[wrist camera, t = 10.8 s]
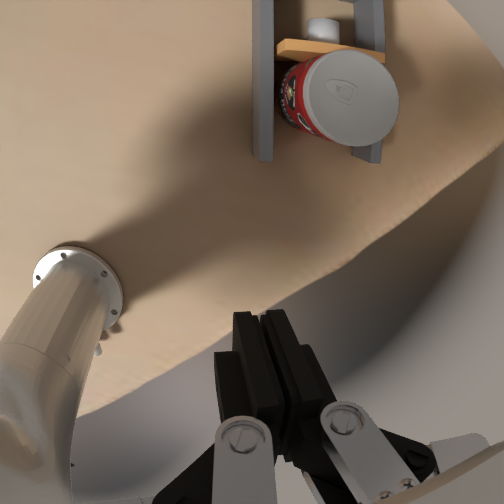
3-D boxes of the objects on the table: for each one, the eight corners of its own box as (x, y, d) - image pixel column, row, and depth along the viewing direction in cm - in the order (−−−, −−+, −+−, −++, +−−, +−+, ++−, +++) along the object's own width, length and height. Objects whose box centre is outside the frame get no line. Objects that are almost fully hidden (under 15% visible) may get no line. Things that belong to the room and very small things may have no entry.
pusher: (351, 68, 29) (385, 63, 23) (268, 60, 28) (285, 49, 21) (351, 35, 27) (384, 24, 21) (268, 25, 26) (285, 6, 20)
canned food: (274, 59, 28) (307, 40, 18) (346, 69, 29) (403, 61, 19) (270, 129, 31) (301, 143, 21) (341, 135, 32) (395, 152, 23)
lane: (360, 155, 34) (387, 166, 28) (252, 154, 32) (262, 164, 27) (362, -4, 25) (389, -18, 20) (252, -20, 23) (262, -42, 18)
